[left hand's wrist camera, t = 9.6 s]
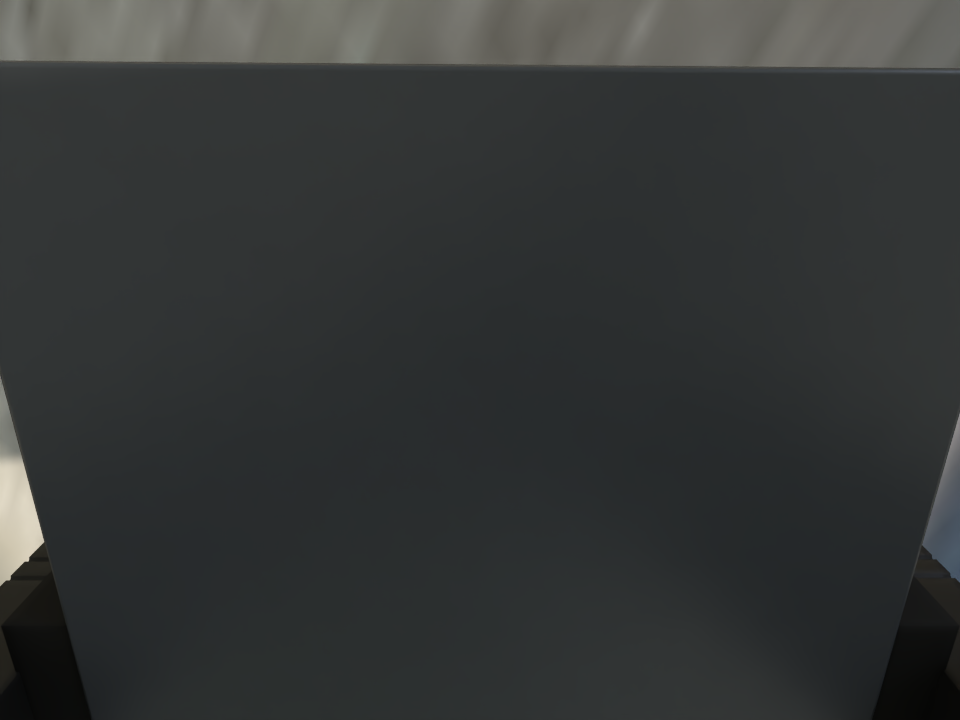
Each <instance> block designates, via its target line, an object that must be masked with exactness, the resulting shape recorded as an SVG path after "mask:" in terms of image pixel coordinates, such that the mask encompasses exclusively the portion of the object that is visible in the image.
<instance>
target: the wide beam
mask: <svg viewBox="0 0 960 720" xmlns="http://www.w3.org/2000/svg"><path fill="white" fill-rule="evenodd" d="M0 375H1V379H2V383H3V386H4V390H5V394H6V398H7V402H8V405H9V409H10V413H11V417H12V421H13V424H14V428H15V432H16V436H17V440H18V443H19V447H20V451H21V455H22V459H23V462H24V466H25V470H26V474H27V478H28V481H29V485H30V489H31V493H32V497H33V500H34V504H35V508H36V512H37V515H38V519H39V523H40V527H41V531H42V534H43V538H44V542H45V546H46V550H47V553H48V557H49V561H50V565H51V569H52V572H53V576H54V580H55V584H56V588H57V591H58V595H59V599H60V603H61V607H62V610H63V614H64V618H65V622H66V625H67V629H68V633H69V637H70V641H71V644H72V648H73V652H74V656H75V660H76V663H77V667H78V671H79V675H80V679H81V682H82V686H83V690H84V694H85V698H86V701H87V705H88V709H89V713H90V717H91V720H872V718H873V715H874V711H875V708H876V704H877V701H878V697H879V694H880V690H881V687H882V683H883V680H884V676H885V673H886V669H887V665H888V662H889V658H890V655H891V651H892V648H893V644H894V641H895V637H896V634H897V630H898V627H899V623H900V620H901V616H902V613H903V609H904V606H905V602H906V599H907V595H908V592H909V588H910V585H911V581H912V578H913V574H914V571H915V567H916V564H917V560H918V557H919V553H920V550H921V546H922V543H923V539H924V536H925V532H926V529H927V525H928V522H929V518H930V515H931V511H932V508H933V504H934V501H935V497H936V494H937V490H938V487H939V483H940V480H941V476H942V473H943V469H944V466H945V462H946V459H947V455H948V452H949V448H950V445H951V441H952V438H953V434H954V431H955V427H956V424H957V420H958V417H959V413H960V68H841V67H715V66H590V65H464V64H339V63H213V62H87V61H0Z"/></svg>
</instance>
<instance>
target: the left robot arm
mask: <svg viewBox="0 0 960 720" xmlns="http://www.w3.org/2000/svg"><path fill="white" fill-rule="evenodd" d="M0 720H91V717H90V713H89V709H88V705H87V701H86V698H85V694H84V690H83V686H82V682H81V679H80V675H79V671H78V667H77V663H76V660H75V656H74V652H73V648H72V644H71V641H70V637H69V633H68V629H67V625H66V622H65V618H64V614H63V610H62V607H61V603H60V599H59V595H58V591H57V588H56V584H55V580H54V576H53V572H52V569H51V565H50V561H49V557H48V553H47V550H46V546H45V542H44V543H43V544H42V545H41V546H40V547H39V548H38V549H37V550H36V551H35V552H34V553H33V554H32V555H31V556H30V557H29V562H24V563H23V564H22V565H21V566H20V567H19V568H18V569H17V570H16V571H15V572H14V573H13V574H12V575H11V579H10V581H5V582H4V583H3V584H2V585H1V586H0ZM872 720H960V583H959V582H958V581H957V580H956V579H955V578H951V576H950V573H949V572H948V571H947V570H946V569H945V568H944V567H943V566H942V565H941V564H940V563H939V562H938V561H937V560H936V559H932V555H931V554H930V553H929V552H928V551H927V550H926V549H925V548H924V547H923V546H921V550H920V553H919V557H918V560H917V564H916V567H915V571H914V574H913V578H912V581H911V585H910V588H909V592H908V595H907V599H906V602H905V606H904V609H903V613H902V616H901V620H900V623H899V627H898V630H897V634H896V637H895V641H894V644H893V648H892V651H891V655H890V658H889V662H888V665H887V669H886V673H885V676H884V680H883V683H882V687H881V690H880V694H879V697H878V701H877V704H876V708H875V711H874V715H873V718H872Z"/></svg>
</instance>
